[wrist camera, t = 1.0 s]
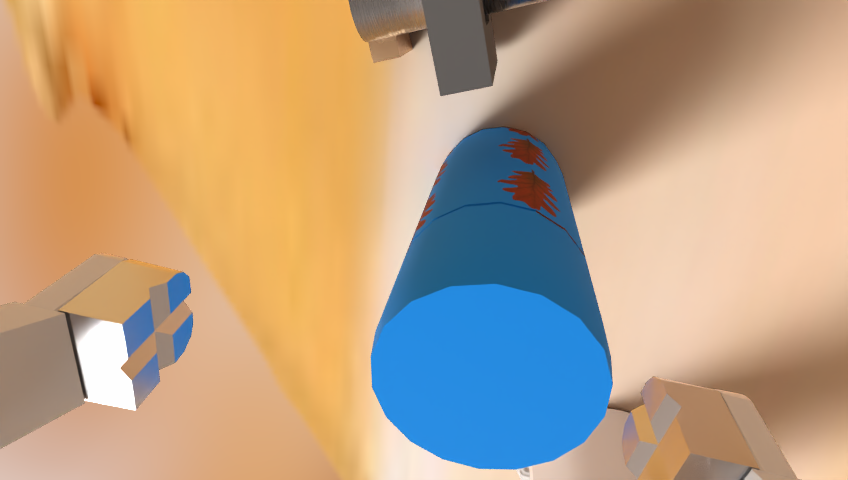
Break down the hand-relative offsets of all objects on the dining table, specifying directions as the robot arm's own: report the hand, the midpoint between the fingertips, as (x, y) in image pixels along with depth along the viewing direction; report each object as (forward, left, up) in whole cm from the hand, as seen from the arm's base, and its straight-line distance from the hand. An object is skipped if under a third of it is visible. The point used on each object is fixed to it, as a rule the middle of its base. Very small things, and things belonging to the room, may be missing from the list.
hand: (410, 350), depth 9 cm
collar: (+6, +1, -34) cm, 34 cm away
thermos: (-10, +1, -35) cm, 37 cm away
